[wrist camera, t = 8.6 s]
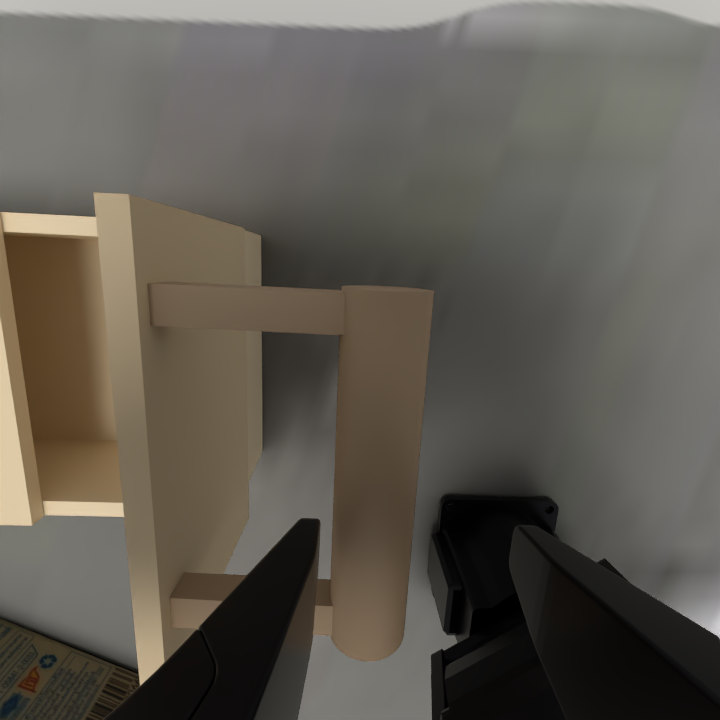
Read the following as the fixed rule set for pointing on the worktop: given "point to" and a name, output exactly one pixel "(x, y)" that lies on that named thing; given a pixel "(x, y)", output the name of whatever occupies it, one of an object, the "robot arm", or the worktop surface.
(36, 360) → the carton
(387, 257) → the worktop surface
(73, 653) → the beverage carton
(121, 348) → the cabinet door with handle
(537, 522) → the robot arm
